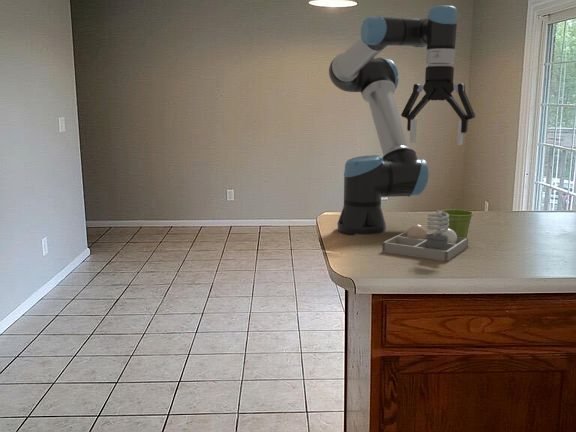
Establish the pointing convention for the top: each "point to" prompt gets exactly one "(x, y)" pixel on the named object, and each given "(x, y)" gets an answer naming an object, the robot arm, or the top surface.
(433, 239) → the light bulb
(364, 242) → the top surface
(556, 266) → the top surface
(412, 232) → the brown egg
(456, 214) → the plant pot
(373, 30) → the robot arm
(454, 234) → the white egg
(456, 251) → the carton
